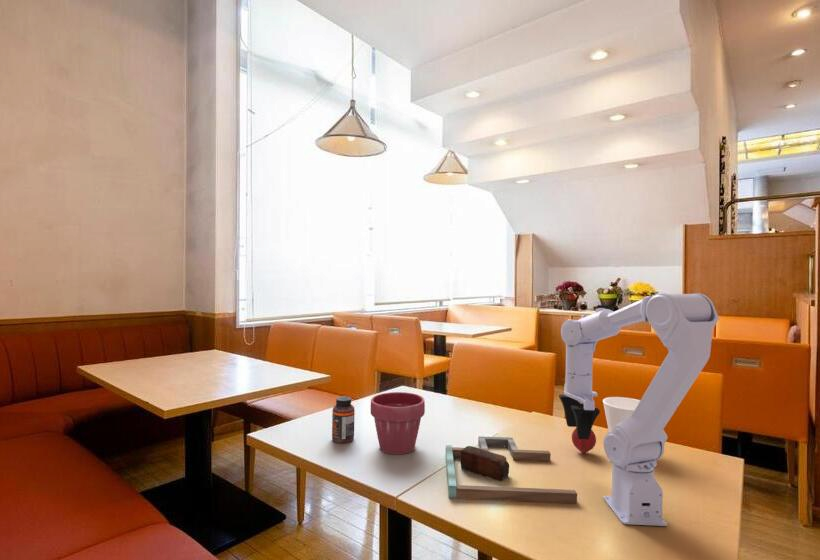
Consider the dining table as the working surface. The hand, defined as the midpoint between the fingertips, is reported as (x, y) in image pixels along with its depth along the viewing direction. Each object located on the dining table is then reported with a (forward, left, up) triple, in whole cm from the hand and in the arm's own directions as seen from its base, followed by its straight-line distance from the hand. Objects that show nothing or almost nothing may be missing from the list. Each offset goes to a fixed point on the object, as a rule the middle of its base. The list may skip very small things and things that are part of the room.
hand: (577, 432), depth 99 cm
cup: (+16, -18, -10) cm, 26 cm away
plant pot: (+12, +42, -10) cm, 45 cm away
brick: (0, +21, -10) cm, 23 cm away
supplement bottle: (+16, +57, -10) cm, 60 cm away
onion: (+13, -6, -10) cm, 18 cm away
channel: (+2, +17, -10) cm, 20 cm away
